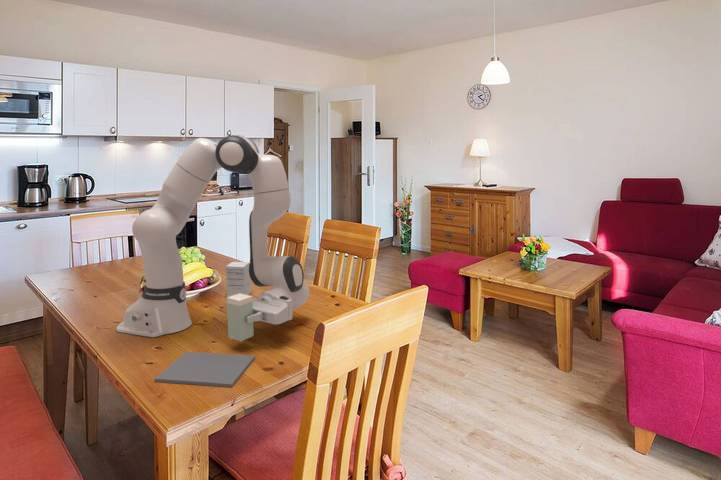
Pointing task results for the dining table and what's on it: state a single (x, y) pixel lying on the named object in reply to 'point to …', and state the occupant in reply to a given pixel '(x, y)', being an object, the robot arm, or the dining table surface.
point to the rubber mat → (206, 369)
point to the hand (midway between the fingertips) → (238, 317)
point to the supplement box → (238, 278)
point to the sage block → (239, 316)
